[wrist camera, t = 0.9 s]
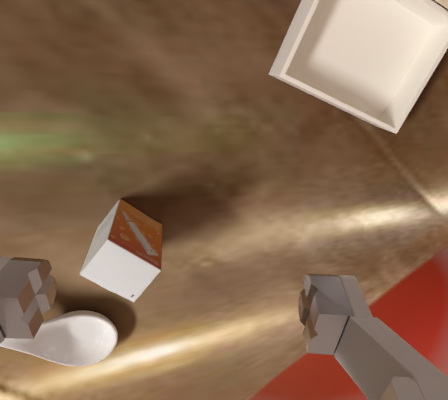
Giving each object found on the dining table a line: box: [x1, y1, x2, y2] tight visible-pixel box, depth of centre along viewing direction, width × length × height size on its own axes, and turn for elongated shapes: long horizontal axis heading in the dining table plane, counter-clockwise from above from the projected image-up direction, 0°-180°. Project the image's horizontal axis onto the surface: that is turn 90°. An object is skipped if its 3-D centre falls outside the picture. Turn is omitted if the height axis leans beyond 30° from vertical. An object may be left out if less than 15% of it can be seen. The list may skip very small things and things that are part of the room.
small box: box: [80, 199, 162, 302], centre depth 49 cm, size 8×6×13 cm
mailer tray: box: [269, 0, 448, 134], centre depth 47 cm, size 16×20×5 cm
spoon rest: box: [0, 310, 118, 366], centre depth 56 cm, size 24×12×7 cm, turn 60°
